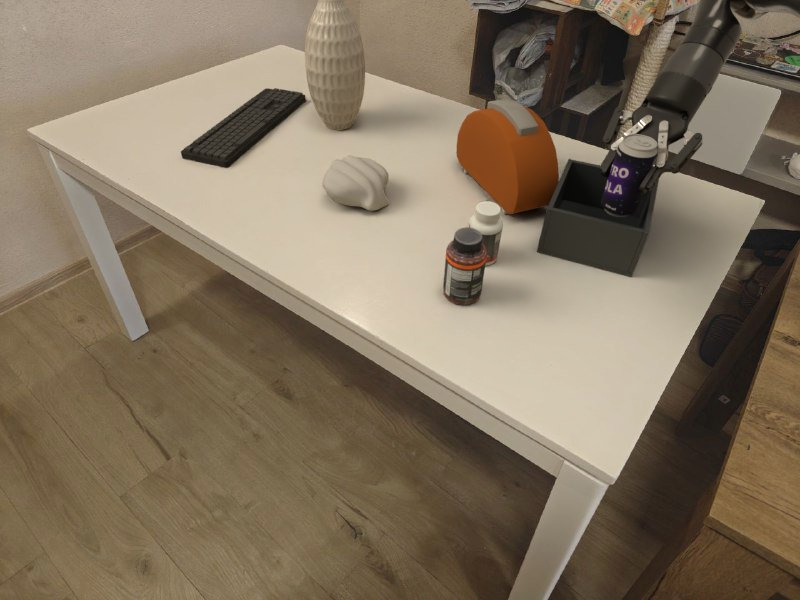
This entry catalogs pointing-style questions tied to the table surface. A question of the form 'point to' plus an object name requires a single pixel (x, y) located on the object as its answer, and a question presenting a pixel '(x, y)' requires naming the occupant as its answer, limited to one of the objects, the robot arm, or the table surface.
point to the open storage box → (593, 223)
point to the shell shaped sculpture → (357, 182)
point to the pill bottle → (488, 227)
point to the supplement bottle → (464, 267)
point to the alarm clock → (509, 155)
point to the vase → (335, 64)
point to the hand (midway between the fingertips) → (622, 182)
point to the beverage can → (628, 174)
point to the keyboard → (243, 128)
